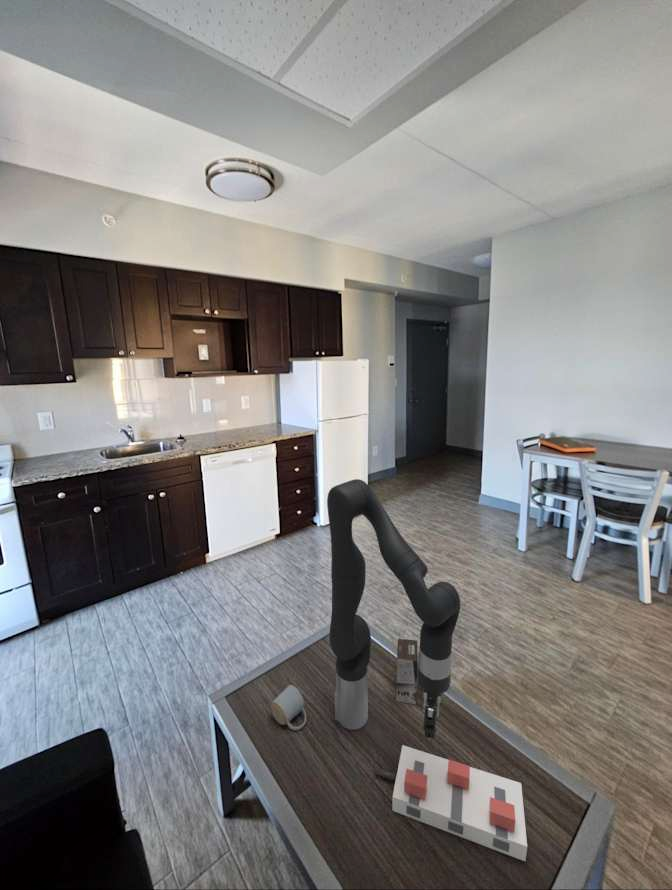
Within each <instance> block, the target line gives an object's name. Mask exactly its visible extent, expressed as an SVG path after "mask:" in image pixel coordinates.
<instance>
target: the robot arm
mask: <svg viewBox="0 0 672 890" xmlns="http://www.w3.org/2000/svg"><path fill="white" fill-rule="evenodd" d="M326 501H327V502H326V503H327V505H326V507H327V516H328V523H329V524H328V525H329V531H330V548H331V549H330V550H331V552H330V553H331V563H330V564H331V568H330V569H331V573H330V574H331V577H330V578H331V616H330V618H331V619H330V626H329V627H330V628H329V634H328V635H329V646H330V647H331V650H332V652H333V654H334V656H335V657H336V661H335V673H336V674H335V675H336V676H335V680H336V690H335V692H334V696H333V697H334V718H335V721H337V722H338V723H340V725H341V726H342V727H343V728H344V729H347V730H350V731H351V730H352V731H355V730H359V729H362V728H363V727H364V726H365V725H366V724H367V722H368V719H369V716H368V715H369V708H368V707H369V706H368V705H369V704H368V703H369V700H368V698H369V697H368V695H369V694H368V693H369V692H368V689H369V688H368V687H369V686H368V683H369V682H368V666H369V664H370V659H371V645H372V643H371V641H372V639H371V630H370V627H369V624H368V623H367V621H366V620H365V619H364V618H363V617H362V616H360V615H359V614H357V611H358V610H359V605H360V603H361V600H362V597H363V594H364V591H365V588H366V587H365V586H366V568H367V567H366V560H365V557H364V555H363V552H361V550H360V549H359V547H358V546H357V545H356V543H355V541H354V538H353V520H354V518H356V517H358V516H361V515H362V516H364V518H366V520H368V521H369V523H370V524H371V526H372V528H373V529H374V532H375V536H376V539H377V544H378V547H379V551H380V554H381V557H382V559H383V561H384V562H385V564H386V566H388V568H389V569H390V570H391V572H392V573H393V574H394V576H395V577H396V579H398V581H399V582H400V583H401V585H402V587H403V589H404V592H405V593H406V596H407V597H408V600H409V603H410V605H411V606H412V609H413V610H414V612H415V614H416V616H417V617H418V618H419V619H420V620H421V621H422V622H423V623H422V625H421V627H420V633H419V648H418V669H417V684H418V685H419V686H420V687H421V688H422V689H423V709H422V711H423V713H424V716H423V717H424V718H423V727H422V728H423V731H424V737H426V738H427V739H432V740H435V734H436V731H437V729H436V727H437V718H438V717H439V714H440V704H441V702H442V701H441V700H442V694H445V693H446V692H447V691H448V690H449V689H450V687H451V680H452V679H451V677H452V665H453V662H452V661H453V656H452V648H453V635H454V634H453V633H454V631H455V628H456V626H457V623H458V618H459V615H460V610H461V597H460V594H459V592H458V590H457V589H456V587H455V586H454V585H452V584H451V583H449V582H447V581H437V582H436V583H434V584H433V585H432V586H430V587H429V588H428V586H427V585H426V582H425V580H424V578H425V577H426V576H427V573H428V567H427V564H426V563H425V562H424V561H423V560H422V558H421V557H420V556H419V555H418V554H417V553H416V551H415V550H414V549H413V548H412V547H411V545H410V544H408V542H407V541H406V540H405V539H404V537H403V536H402V535H401V533H400V531H398V528H397V527H396V525H395V524H394V523H393V521H392V519H391V518H390V516H389V514H388V513H387V511H386V510H385V508H384V506H383V504H382V503H381V501H380V500H379V498H378V497H377V495H376V494H375V492H374V490H373V489H372V488H371V487H370V485H369V484H368V483H367V482H366V481H364V480H363V479H357V478H356V479H351V480H348V481H345V482H342V483H339V484H337V485H334V486H333V487H331V488H330V490H329V491H328V493H327V498H326Z"/></svg>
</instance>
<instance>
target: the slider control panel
mask: <svg viewBox="0 0 672 890" xmlns="http://www.w3.org/2000/svg"><path fill="white" fill-rule="evenodd" d="M448 760H449V759H447V758H444V757H440V756H438V755H435V754H432V753H428V752H425V751H422V750H419V749H416V748H413V747H410V746H406V745H404V744H402V745H401V751H400V755H399V761H398V766H397V767H398V768H397V772H396V774H395V773H392V772H391V771H386V770H384V769H382V768H378V767H376V766H375V767H374V771H373V772H374V774H376V775H377V776H381V777H384V778H388V779H389V780H393V781H395V782H394V787H393V793H392V806H391V808H392V812H394V813H397V814H399V815H403V816H406V817H408V818H410V819H413V820H416V821H417V822H421V823H424V824H426V825H427V826H432V827H434V828H436V829H439V830H442V831H445V832H446V833H449V834H452V835H455V836H457V837H460V838H463V839H465V840H468V841H471V842H474V843H476V844H479V845H481V846H483V847H486V848H489V849H491V850H494V851H496V852H499V853H502V854H505V855H507V856H509V857H512V858H515V859H517V860H520V861H521V862H522V861H523V862H526V861H527V853H528V852H527V851H528V840H527V839H528V838H527V830H526V819H525V818H526V817H525V809H524V799H523V797H524V796H523V788H522V783H521V782H519V781H515V780H512V779H510V778H506V777H503V776H501V775H498V774H497V775H496V774H495V773H494V774H493V773H491V772H487V771H485V770H481V769H478V768H475V767H471V766H470V779H469V790H468V789H465V788H462V787H459V786H456V785H453V784H450V783H447V775H448ZM406 769H409V770H412V771H415V772H418V773H421V774H424V775H427V791H426V799H425V800H424V799H421V798H418V797H416V796H413V795H410V794H407V793H405V792H404V780H405V775H406ZM490 797H492V798H495V799H498V800H501V801H503V802H506V803H509V804H512V805H514V808H515V828H514V832H512V831H510V830H507V829H504V828H501V827H499V826H496V825H493V824H490V823H489V804H490Z"/></svg>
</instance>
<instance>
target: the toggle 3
mask: <svg viewBox="0 0 672 890" xmlns="http://www.w3.org/2000/svg"><path fill="white" fill-rule="evenodd" d="M489 823H490V824H493V825H496V826H499V827H501V828H504V829H507V830H510V831H512V832H514V828H515V808H514V805H512V804H509V803H506V802H503V801H501V800H498V799H495V798H492V797H490V804H489Z"/></svg>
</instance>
